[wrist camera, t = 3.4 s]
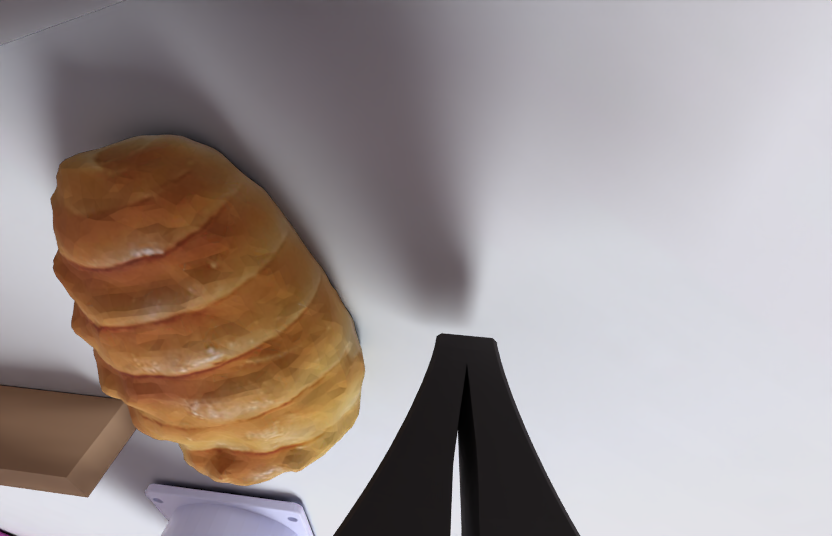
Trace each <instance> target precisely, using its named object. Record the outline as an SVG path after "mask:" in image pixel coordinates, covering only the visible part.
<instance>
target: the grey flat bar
mask: <svg viewBox="0 0 832 536" xmlns="http://www.w3.org/2000/svg"><path fill="white" fill-rule="evenodd" d="M122 1H125V0H0V45H3V44H6V43H8V42H11V41H14V40H17V39H19V38H22V37H25V36H28V35H31V34H33V33H36V32H39V31H42V30H44V29H47V28H50V27H53V26H56V25H58V24H61V23H64V22H67V21H69V20H72V19H75V18H78V17H81V16H83V15H86V14H89V13H92V12H94V11H97V10H100V9H103V8H105V7H108V6H111V5H114V4H117V3H119V2H122Z"/></svg>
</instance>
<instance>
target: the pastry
mask: <svg viewBox="0 0 832 536" xmlns="http://www.w3.org/2000/svg"><path fill="white" fill-rule="evenodd" d="M56 178H57V187H56V190H55V192H54V194H53V195H52V197H51V205H52V209H53V229H54V233H55V236H56V240H57V245H58V251H57V253H56V256H55V258H54V260H53V262H54V265H53V270H54V273H55V275H56V277H57V278H58V279H59V281H60V282H61V283H62V284H63V286H64V287H65V289H66V290H67V292H68V293H69V295H70V296H71V297H72V298H73V299H74V300H75V302H74V310H73V316H72V321H71V327H72V329H73V330H74V332H75V333H76V334H77V335H78V336H80V337H81V338H82V339H84V340H85V341H86V342H87V343H88V344H89V345H91V346H92V347H93V351H94V356H95V359H96V362H97V368H98V374H99V383H100V386H101V389H102V392H104V393H105V394H106V395H108V396H110V397H113V398H117V399H121V400H122V401H123V402H124V403H125V404H127V406H128V409H129V413H130V416H131V419H132V423H133V424H134V426H135V427H136V428H137V429H138V430H139V431H141V432H142V433H144V434H146V435H148V436H150V437H152V438H154V439H157V440H169V441H173V442H176V443H178V444H179V446H180V448H181V450H182V451H183V455H184V460H185V461H186V462H187V464H188V465H190V466H192V467H193V468H195V469H196V470H197V471H198V472H200V473H202V474H204V475H206V476H209V477H210V478H211V479H212V480H214V481H215V482H222V483H232V484H235V485H239V486H248V485H252V484H258V483H261V482H264V481H268V480H270V479H272V478H274V477H276V476H278V475H280V474H282V473H284V472H289V471H293V472H297V471H300V470H302V469H304V468H305V467H306V466H308V465H309V464H311V463H312V462H314V461H316V460H317V459H319V458H320V457H322V456H323V455H324V454H325V453H326V452H327V451H328V450H329V449H330V448H331V447H332V446H333V445H334V444H335V443H336V442H338V441H339V440H340V439H341V438H342V437H343V436H344V434H345V433H346V432H347V431H348V430H349V429H350V428H352V426H353V424H354V423H355V421H356V419H357V417H358V415H359V409H360V397H361V386H362V382H363V379H364V373H365V366H364V360H363V354H362V349H361V346H360V343H359V340H358V337H357V334H356V330H355V325H354V321H353V319H352V318H351V316H350V314H349V313H348V311H347V309H346V308H345V306H344V305H343V303H342V302H341V300H340V297H339V295H338V293H337V291H336V290H335V289H334V288H333V287H332V286H331V284H330V282H329V280H328V278H327V276H326V274H325V272H324V270H323V269H322V267H321V266H320V265H319V264H318V263H317V261H316V260H315V259H314V257H313V256H312V254H311V253H310V252H309V250H308V249H307V247H306V246H305V245H304V243H303V242H302V240H301V239H300V237H299V236H298V234H297V232H296V231H295V230H294V228H293V227H292V225H291V224H290V223H289V221H288V220H287V218H286V217H285V216H284V214H283V213H282V212H281V210H280V209H279V208H278V207H277V205H276V204H275V203H274V201H273V200H272V199H271V197H270V196H269V195H268V194H267V193H266V191H265V190H264V189H263V188H262V187H260V186H259V185H257V184H256V183H255V182H253V181H252V180H251V179H249V178H248V177H247V176H245V175H244V174H243V173H242V172H241V171H239V170H238V169H237V168H236V167H235V166H234V165H233V164H232V163H231V162H230V161H229V160H228V159H227V158H226V157H225V156H224V155H223V154H221V153H220V152H218V151H217V150H215V149H214V148H212V147H209V146H207V145H204V144H201V143H198V142H196V141H193V140H191V139H188V138H186V137H183V136H178V135H142V136H136V137H132V138H129V139H126V140H123V141H120V142H117V143H114V144H111V145H108V146H106V147H103V148H100V149H96V150H91V151H87V152H83V153H79V154H77V155H74V156H72V157H70V158H67V159H65V160H64V161H63V162H62V163H61V164H60V165H59V170H58V173H57V176H56Z"/></svg>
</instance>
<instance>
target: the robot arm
mask: <svg viewBox="0 0 832 536" xmlns="http://www.w3.org/2000/svg"><path fill="white" fill-rule="evenodd" d="M457 431H458V445H459V472H460V498H461V524H462V536H580V535H579V533H578V531H577V529H576V528H575V526H574V524H573V522H572V521H571V519H570V517H569V515H568V513H567V512H566V510H565V508H564V506H563V504H562V502H561V501H560V499H559V497H558V495H557V493H556V491H555V489H554V487H553V485H552V484H551V482H550V480H549V478H548V476H547V474H546V472H545V470H544V467H543V465H542V463H541V461H540V459H539V457H538V455H537V453H536V451H535V448H534V446H533V444H532V442H531V440H530V437H529V435H528V433H527V431H526V428H525V426H524V423H523V421H522V418H521V416H520V414H519V411H518V409H517V406H516V404H515V401H514V399H513V396H512V393H511V391H510V388H509V385H508V382H507V379H506V376H505V373H504V370H503V366H502V363H501V359H500V356H499V352H498V347H497V342H496V341H495V340H494V339H493V338H485V337H474V336H464V335H454V334H443V333H441V334H440V335H438V336H437V338H436V343H435V347H434V351H433V354H432V358H431V361H430V364H429V366H428V369H427V372H426V374H425V377H424V379H423V382H422V384H421V386H420V388H419V391H418V393H417V395H416V397H415V399H414V402H413V404H412V406H411V408H410V410H409V412H408V414H407V416H406V418H405V420H404V422H403V424H402V426H401V428H400V430H399V431H398V433H397V435H396V437H395V439H394V441H393V443H392V445H391V446H390V448H389V450H388V452H387V453H386V455H385V457H384V459H383V460H382V462H381V464H380V465H379V467H378V469H377V470H376V472H375V473H374V475H373V477H372V478H371V480H370V481H369V483H368V485H367V486H366V488H365V489H364V491H363V493H362V494H361V496H360V497H359V499H358V500H357V502H356V503H355V504H354V506H353V507H352V509H351V510H350V512H349V513H348V515H347V516H346V518H345V519H344V521H343V522H342V524H341V525H340V527H339V528H338V529H337V531H336V532H335V534H334V535H333V536H450V530H451V503H452V478H453V461H454V452H455V445H456V438H457ZM145 495H146V496H147V497H148V498H149V499H150V501H151V502H152V503H153V504H154V505H155V506H156V507H157V508H158V510H159V511H160V512H161V513H162V514H163V515H164V516H165V517H166V519H167V520H168V521H169V522H168V524H167V526H166V527H165V529H164V531H163V533H162V535H161V536H313V533H312V531H311V528H310V525H309V523H308V520H307V517H306V515H305V512H304V509H303V507H302V506H301V505H299V504H297V503H293V502H286V501H279V500H271V499H264V498H256V497H249V496H242V495H234V494H227V493H219V492H212V491H205V490H197V489H190V488H183V487H175V486H168V485H160V484H150V485H149V486H148V488H147V489H146V491H145Z"/></svg>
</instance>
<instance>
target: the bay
mask: <svg viewBox="0 0 832 536" xmlns="http://www.w3.org/2000/svg"><path fill="white" fill-rule="evenodd" d="M136 429H137V428H136V427H135V426H134V424H133V423H132V419H131V416H130V413H129V409H128V406H127V404H125V403H124V402H123V401H122V400H121V399H112V398H104V397H95V396H87V395H78V394H69V393H61V392H52V391H44V390H35V389H27V388H18V387H10V386H1V385H0V485H4V486H11V487H18V488H25V489H32V490H39V491H46V492H53V493H60V494H67V495H75V496H82V497H89V495H90V494H91V492H92V491H93V490H94V488H95V487H96V485H97V484H98V482H99V481H100V480H101V478H102V477H103V475H104V474H105V473H106V471H107V470H108V468H109V467H110V465H111V464H112V463H113V461H114V460H115V458H116V457H117V456H118V454H119V453H120V451H121V450H122V448H123V447H124V446H125V444H126V443H127V441H128V440H129V438H130V437H131V436H132V434H133V433H134V431H135V430H136Z"/></svg>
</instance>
